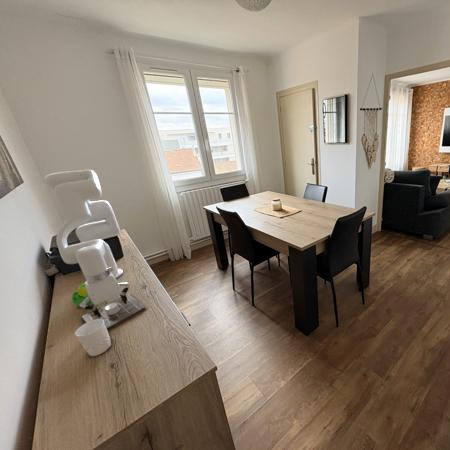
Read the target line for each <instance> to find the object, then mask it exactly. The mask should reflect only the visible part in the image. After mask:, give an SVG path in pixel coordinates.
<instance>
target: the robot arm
mask: <svg viewBox="0 0 450 450" xmlns="http://www.w3.org/2000/svg"><path fill="white" fill-rule="evenodd" d="M44 181H45V183H46V185H47V186H48V187H49V188H50V189H51V190H53V191H54V193H55V196H56V197H55V198H56V200H57V203H58V205H59V208H60V210H61V213H62V216H63V219H64V221H63V223H62V224H61V226H60V227H59V229H58V231H57V233H56V239H55V240H56V245H57V248H58V249H57V250H58V252H59V255H60V257H61V259H62V261H63V262H64V263H65V264H67V265H75V264H78V265H79V268H80V270H81V272H82V274H83V276H84V278H85V282H84V284H85V287H86V291H87V293H88V297H87V298H86V299H85V300H84V301H83V302H81V303H80V306H81V307H80V308H83V309H85V310H88V311H91V312H92V311H93V312H94V314H95V316H97V315H98V317H101V315H100V312H99V310H98V306H99V305H100V304H101V303H104V302H107V301H108V300H110V299H113V298H114V297H117V296H119V297H120V298H121V299H122V301H123V302H124V303H125V304H127V297H126V295H127V294H128V291H129V289H130V283H129V282H126V281H125V282H118V280H117V278H120V277H121V276H122V274H123V273H124V271H123V269H122V268H118V265H117V262H116V260H115V258H114V255H113V252H112V249H111V248H110V246H109V244H108V243H107V242H106V241H104V240H105V239H109V238H113V237H116V236H118V235H120V234H121V227H120V225H119V223H118V220H117V217H116V215H115V212H114V209H113V207H112V205H111V204H110V203H109V201H107V200H103V199H102V200H96V199H100V198H101V197H102V195H103V192H102V191H103V190H102V187H101V183H100V180H99V176H98V175H97V173H96V172H95V171H94V170H92V169H82V170H72V171H71V170H69V171H60V172H54V173H50V174H47V175H46V176H45V177H44ZM90 200H94V201H90ZM74 230H75V235H76V237H77V238H78V240H79V243H75V244H70V245H69V244H68V237H69V235H70V234H71V233H72V232H73V231H74ZM121 287H123V289H122V288H121ZM90 300H91V302H92V303H91V304H89V305H86V304H87V303H88V302H89V301H90Z"/></svg>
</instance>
